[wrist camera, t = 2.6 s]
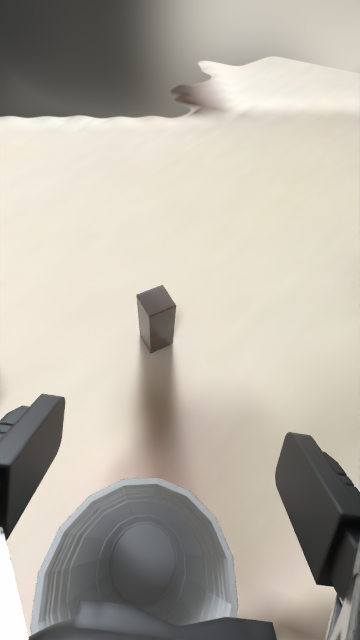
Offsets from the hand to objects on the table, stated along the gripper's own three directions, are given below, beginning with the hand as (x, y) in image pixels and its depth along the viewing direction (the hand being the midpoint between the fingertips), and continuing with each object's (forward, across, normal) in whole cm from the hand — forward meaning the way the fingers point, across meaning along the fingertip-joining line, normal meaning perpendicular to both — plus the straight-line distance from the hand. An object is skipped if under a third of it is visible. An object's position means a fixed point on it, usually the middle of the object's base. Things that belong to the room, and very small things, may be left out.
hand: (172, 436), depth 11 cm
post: (+27, +2, +5) cm, 27 cm away
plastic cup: (+11, -1, +20) cm, 23 cm away
